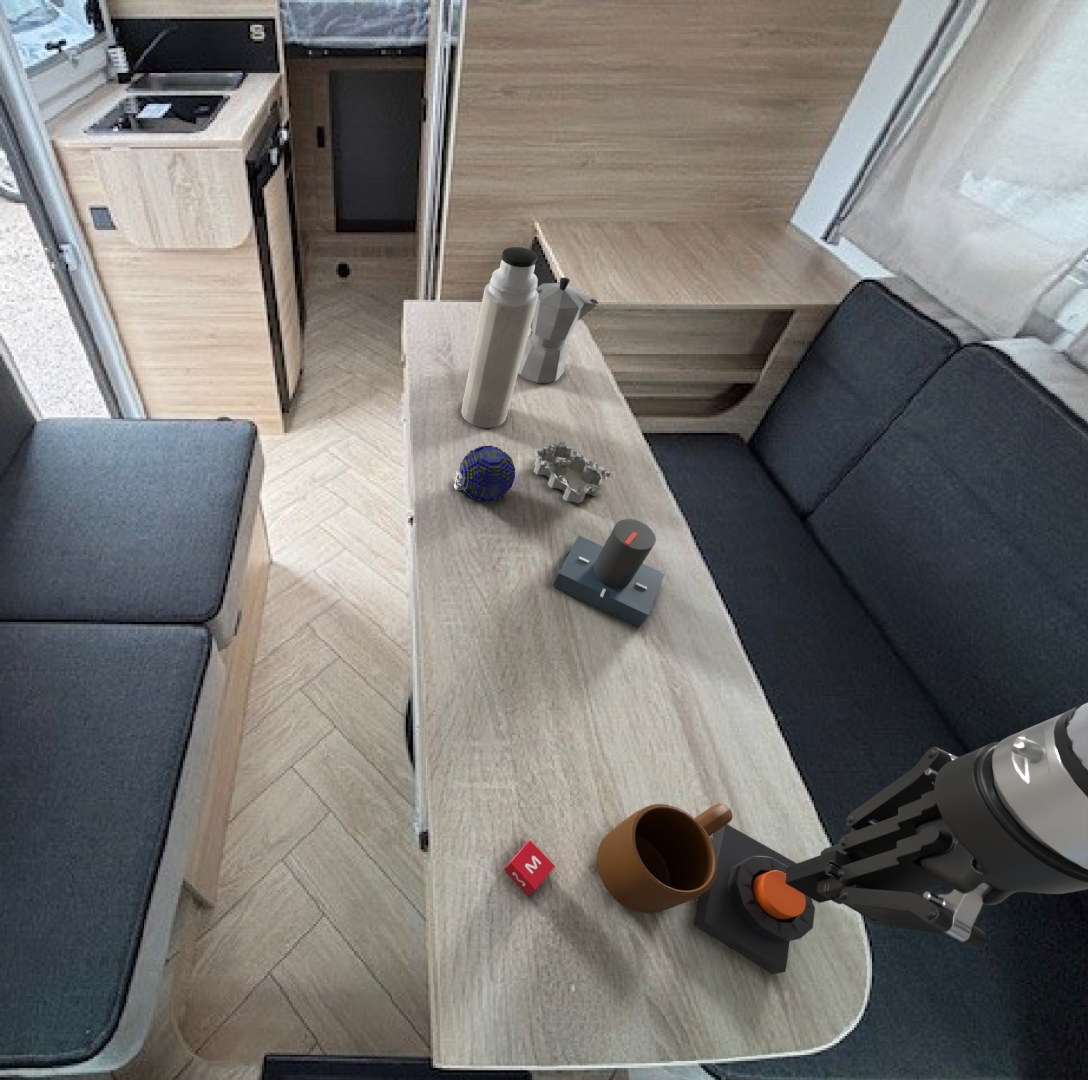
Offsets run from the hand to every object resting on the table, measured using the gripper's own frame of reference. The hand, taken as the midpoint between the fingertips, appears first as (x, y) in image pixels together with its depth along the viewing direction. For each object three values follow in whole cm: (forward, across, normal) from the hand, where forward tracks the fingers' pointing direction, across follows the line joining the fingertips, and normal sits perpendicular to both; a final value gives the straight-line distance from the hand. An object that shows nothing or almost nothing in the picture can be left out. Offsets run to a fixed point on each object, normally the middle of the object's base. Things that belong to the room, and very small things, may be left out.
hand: (803, 884), depth 51 cm
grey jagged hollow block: (+9, -46, -36) cm, 59 cm away
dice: (+9, +10, -20) cm, 23 cm away
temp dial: (+6, -29, -24) cm, 38 cm away
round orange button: (+5, 0, 0) cm, 5 cm away
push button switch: (+8, 0, -1) cm, 8 cm away
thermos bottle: (+9, -54, -54) cm, 77 cm away
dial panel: (+9, -29, -24) cm, 38 cm away
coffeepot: (+9, -72, -52) cm, 89 cm away
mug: (+9, +2, -9) cm, 13 cm away
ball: (+9, -36, -46) cm, 59 cm away
